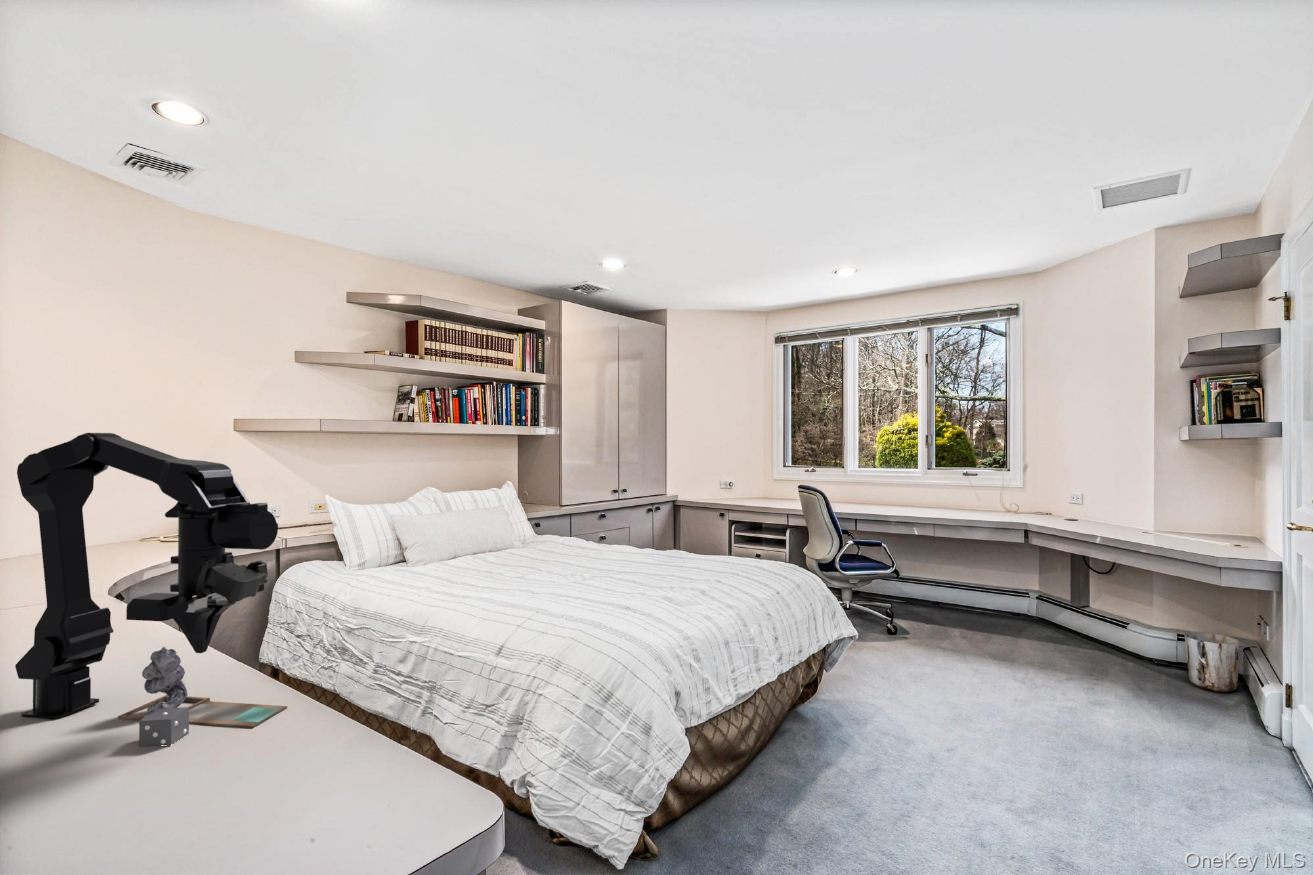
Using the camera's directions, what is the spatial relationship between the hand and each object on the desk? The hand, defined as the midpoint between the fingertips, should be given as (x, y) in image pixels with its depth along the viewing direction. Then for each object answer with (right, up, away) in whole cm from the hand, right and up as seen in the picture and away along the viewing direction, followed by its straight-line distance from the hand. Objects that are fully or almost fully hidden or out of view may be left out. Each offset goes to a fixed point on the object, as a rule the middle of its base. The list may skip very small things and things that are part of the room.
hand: (200, 652), depth 94 cm
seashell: (-8, -11, +4) cm, 14 cm away
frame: (-8, -10, +4) cm, 14 cm away
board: (+2, -11, +3) cm, 11 cm away
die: (-1, -11, -6) cm, 12 cm away
